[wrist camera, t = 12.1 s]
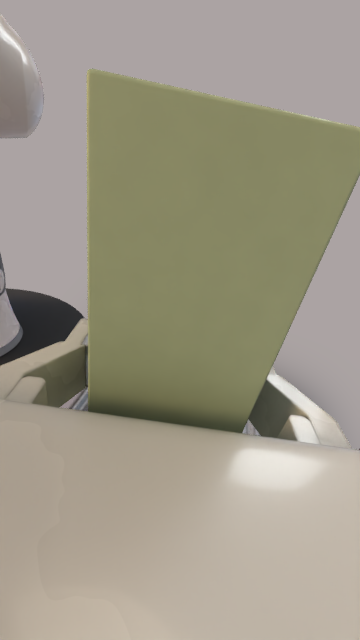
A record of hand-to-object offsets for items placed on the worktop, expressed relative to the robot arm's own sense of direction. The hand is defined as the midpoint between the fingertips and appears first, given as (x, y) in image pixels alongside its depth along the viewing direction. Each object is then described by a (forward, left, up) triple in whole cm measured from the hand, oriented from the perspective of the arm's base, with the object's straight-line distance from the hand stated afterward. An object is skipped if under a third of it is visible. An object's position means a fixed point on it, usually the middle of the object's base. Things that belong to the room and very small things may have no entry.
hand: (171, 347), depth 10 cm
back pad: (0, -1, -9) cm, 9 cm away
